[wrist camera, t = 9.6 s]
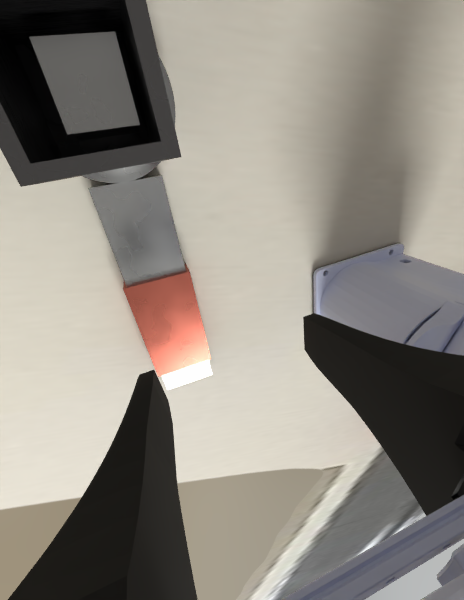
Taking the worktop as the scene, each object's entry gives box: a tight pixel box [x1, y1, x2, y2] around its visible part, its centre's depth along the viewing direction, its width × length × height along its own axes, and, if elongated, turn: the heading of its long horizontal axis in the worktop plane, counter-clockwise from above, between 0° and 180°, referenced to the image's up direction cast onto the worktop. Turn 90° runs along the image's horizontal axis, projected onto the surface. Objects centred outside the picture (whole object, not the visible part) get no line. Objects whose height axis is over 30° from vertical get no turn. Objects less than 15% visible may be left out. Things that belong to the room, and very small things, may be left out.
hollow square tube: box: [0, 0, 181, 186], centre depth 10 cm, size 6×6×5 cm
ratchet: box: [14, 32, 212, 390], centre depth 16 cm, size 7×23×5 cm, turn 8°
